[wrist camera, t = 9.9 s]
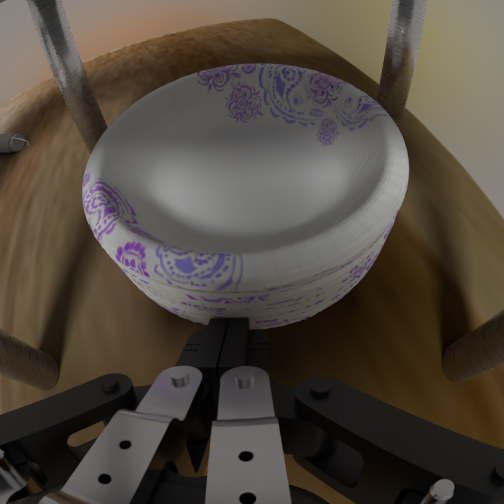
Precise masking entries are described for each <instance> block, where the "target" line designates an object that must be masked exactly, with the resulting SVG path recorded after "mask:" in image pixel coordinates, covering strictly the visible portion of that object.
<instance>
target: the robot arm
mask: <svg viewBox="0 0 504 504" xmlns="http://www.w3.org/2000/svg"><path fill="white" fill-rule="evenodd" d="M100 421H103V423H104V425H105V429H104V430H103V432H102V433H101V435H100V436H99V437H97V438H95V439H93V440H91V441H88V442H86V443H84V444H82V445H80V446H77V447H72V446H69V445H68V444H67V440H68V438H69V436H70V435H71V434H73V433H75V432H78V431H80V430H82V429H85V428H87V427H89V426H91V425H94V424H96V423H98V422H100ZM283 453H285V454H291V455H293V457H294V460H295V461H296V462H297V463H298V464H299V465H301V466H302V467H303V468H305V469H306V470H307V471H309V472H310V473H311V474H313V475H314V476H316V477H317V478H318V479H320V480H321V481H323V482H324V483H326V484H327V485H328V486H330V487H331V488H333V489H334V490H336V491H337V492H339V493H340V494H342V495H343V496H345V497H347V498H348V499H350V500H351V501H353V502H354V503H356V504H504V450H503V449H500V448H497V447H494V446H492V445H489V444H486V443H483V442H480V441H477V440H475V439H472V438H469V437H466V436H464V435H461V434H459V433H456V432H453V431H451V430H448V429H446V428H443V427H441V426H438V425H436V424H433V423H431V422H429V421H426V420H424V419H421V418H419V417H417V416H414V415H412V414H410V413H407V412H405V411H403V410H401V409H398V408H396V407H394V406H392V405H389V404H387V403H385V402H383V401H381V400H379V399H376V398H374V397H372V396H370V395H368V394H366V393H364V392H362V391H359V390H357V389H355V388H353V387H351V386H349V385H347V384H345V383H343V382H341V381H339V380H337V379H335V378H332V377H327V376H315V377H310V378H307V379H305V380H303V381H301V382H300V383H299V384H298V385H297V386H296V388H293V387H287V386H283V385H280V384H278V383H276V382H275V381H274V380H272V378H271V377H270V365H269V341H268V334H267V333H266V332H265V331H264V330H263V329H251V330H250V321H249V318H230V319H229V318H211V319H210V320H209V323H208V326H207V328H206V330H203V331H196V332H195V333H194V334H192V335H191V336H190V337H189V338H188V341H187V343H186V345H185V347H184V349H183V351H182V353H181V355H180V357H179V360H178V362H177V364H176V366H175V367H171V368H168V369H166V370H164V371H163V372H161V373H160V374H159V376H158V377H157V379H156V380H155V382H154V383H153V385H147V386H138V387H133V384H132V381H131V379H130V378H129V377H128V376H126V375H123V374H107V375H104V376H101V377H99V378H96V379H94V380H91V381H89V382H86V383H84V384H81V385H79V386H76V387H74V388H71V389H69V390H66V391H64V392H61V393H59V394H56V395H54V396H51V397H48V398H46V399H43V400H40V401H38V402H35V403H32V404H30V405H27V406H24V407H21V408H19V409H16V410H13V411H10V412H7V413H4V414H2V415H0V504H329V503H328V502H327V501H325V500H324V499H322V498H321V497H319V496H317V495H316V494H314V493H312V492H309V491H307V490H305V489H302V488H299V487H296V486H293V485H288V479H287V473H286V467H285V461H284V455H283ZM208 458H209V463H208V475H207V476H203V474H204V471H205V468H206V464H207V461H208Z"/></svg>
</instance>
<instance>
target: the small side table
mask: <svg viewBox="0 0 504 504" xmlns="http://www.w3.org/2000/svg"><path fill="white" fill-rule="evenodd" d="M3 1H5V0H0V3H1V2H3ZM26 1H27V4H28V7H29V10H30V13H31V17H32V20H33V23H34V25H35V28H36V31H37V34H38V36H39V39H40V42H41V45H42V47H43V50H44V52H45V55H46V58H47V60H48V63H49V65H50V68H51V70H52V73H53V75H54V77H55V80H56V82H57V84H58V87H59V89H60V91H61V94H62V96H63V98H64V100H65V103H66V105H67V107H68V109H69V111H70V113H71V116H72V118H73V120H74V122H75V124H76V126H77V128H78V130H79V132H80V134H81V136H82V138H83V140H84V142H85V144H86V146H87V148H88V150H89V152H90V154H91V153H92V151H93V149H94V147H95V145H96V144H97V142H98V140H99V139H100V137H101V136H102V134H103V133H104V132H105V130H106V129H107V128H108V127H107V124H106V122H105V120H104V117H103V115H102V113H101V110H100V108H99V105H98V103H97V100H96V98H95V95H94V93H93V90H92V88H91V85H90V83H89V80H88V77H87V75H86V72H85V69H84V67H83V64H82V61H81V58H80V56H79V53H78V50H77V47H76V45H75V41H74V39H73V35H72V33H71V30H70V27H69V23H68V20H67V17H66V14H65V11H64V7H63V4H62V0H26ZM426 1H427V0H392V2H391V13H390V20H389V28H388V35H387V42H386V49H385V56H384V62H383V68H382V74H381V80H380V85H379V90H378V96H377V101H376V102H377V103H378V104H379V105H380V106H381V107H382V108H383V109H384V110H385V111H386V112H387V113H388V114H389V116H390V117H391V118H392V119H393V121H394V122H395V123H396V125H397V127H398V129H399V128H400V124H401V120H402V117H403V113H404V109H405V105H406V101H407V97H408V94H409V90H410V85H411V81H412V77H413V72H414V68H415V63H416V59H417V54H418V49H419V44H420V38H421V33H422V26H423V21H424V15H425V7H426ZM502 365H504V309H503V310H502V311H500V312H499V313H498V314H496V315H495V316H494V317H492V318H491V319H489V320H488V321H486V322H485V323H484V324H482V325H481V326H479V327H478V328H476V329H475V330H473V331H472V332H470V333H469V334H467V335H465V336H464V337H462V338H461V339H459V340H457V341H456V342H454V343H453V344H451V345H450V346H448V347H447V349H446V350H445V352H444V354H443V358H442V366H443V370H444V373H445V375H446V376H447V377H448V378H449V379H450V380H451V381H453V382H463V381H465V380H468V379H470V378H473V377H476V376H478V375H481V374H483V373H486V372H488V371H490V370H493V369H495V368H497V367H500V366H502ZM0 375H1V376H4V377H7V378H9V379H12V380H15V381H17V382H20V383H23V384H26V385H29V386H32V387H35V388H38V389H41V390H44V391H47V390H50V389H52V388H53V387H54V386H55V384H56V383H57V380H58V376H59V369H58V364H57V362H56V360H55V359H54V358H53V357H52V356H50V355H48V354H46V353H44V352H42V351H40V350H38V349H36V348H34V347H32V346H30V345H28V344H26V343H25V342H23V341H21V340H19V339H17V338H15V337H14V336H12V335H10V334H8V333H7V332H5V331H3V330H1V329H0Z"/></svg>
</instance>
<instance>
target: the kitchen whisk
mask: <svg viewBox="0 0 504 504" xmlns="http://www.w3.org/2000/svg"><path fill="white" fill-rule="evenodd" d="M25 141H26V140H25V138H24V136H23V135H22V134H19V133H8V134H0V153H10V152H16V151H20V150H21V149H22V148H23V147H24V145H25ZM26 142H28V141H26ZM28 143H29V142H28ZM29 145H30V143H29ZM29 145H27V146H29Z"/></svg>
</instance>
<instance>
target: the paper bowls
mask: <svg viewBox="0 0 504 504" xmlns="http://www.w3.org/2000/svg"><path fill="white" fill-rule="evenodd" d="M408 179H409V161H408V153H407V149H406V146H405V142H404V139H403V137H402V134H401V133H400V131H399V129H398V127H397V125H396V123H395V122H394V121H393V119H392V118H391V117H390V116H389V114H388V113H387V112H386V111H385V110H384V109H383V108H382V107H381V106H380V105H379V104H378V103H377V102H376V101H375V100H374V99H372V98H371V97H370V96H368V95H367V94H366V93H364V92H363V91H361V90H360V89H358V88H356V87H355V86H353V85H351V84H349V83H347V82H345V81H343V80H341V79H338V78H336V77H333V76H331V75H328V74H324V73H321V72H318V71H315V70H311V69H307V68H301V67H296V66H289V65H282V64H263V63H257V64H239V65H229V66H223V67H218V68H212V69H208V70H204V71H200V72H197V73H193V74H190V75H187V76H184V77H182V78H179V79H177V80H175V81H173V82H170V83H168V84H166V85H163V86H161V87H160V88H158V89H156V90H154V91H152V92H150V93H149V94H147V95H145V96H144V97H142V98H141V99H139V100H138V101H136V102H135V103H134V104H132V105H131V106H130V107H129V108H127V109H126V110H125V111H124V112H123V113H122V114H120V115H119V116H118V117H117V118H116V119H115V120H114V121H113V122H112V123H111V124H110V126H109V127H108V128H107V129H106V130H105V132H104V133H103V134H102V136H101V137H100V139H99V140H98V142H97V144H96V145H95V147H94V149H93V151H92V153H91V155H90V157H89V159H88V163H87V166H86V169H85V174H84V176H83V185H82V191H83V195H82V197H83V206H84V211H85V215H86V218H87V221H88V223H89V225H90V227H91V229H92V231H93V233H94V236H95V237H96V239H97V240H98V241H99V243H100V244H101V246H102V248H104V249H105V250H106V252H107V253H108V255H109V256H110V257H111V258H112V259H113V260H114V261H115V262H116V263H117V264H118V265H119V267H120V268H121V269H122V270H123V271H124V272H125V273H126V275H127V276H128V277H129V278H130V279H131V280H132V281H133V283H134V284H135V285H136V286H137V287H138V288H139V289H141V290H142V291H143V292H144V293H145V294H146V295H147V296H148V297H149V298H151V299H152V300H154V301H155V302H156V303H157V304H159V305H160V306H161V307H163V308H165V309H166V310H168V311H169V312H172V313H174V314H176V315H178V316H180V317H182V318H184V319H189V320H191V321H192V322H200V323H202V324H204V325H208V323H209V320H210V319H211V318H229V319H230V318H249V321H250V330H251V329H267V328H272V327H280V326H284V325H287V324H291V323H294V322H297V321H301V320H305V319H307V317H312V316H314V315H315V314H317V313H318V312H321V311H322V310H324V309H325V308H327V307H329V306H330V305H332V304H334V303H335V302H337V301H338V300H340V299H341V298H342V297H343V296H345V295H346V294H347V293H348V292H349V291H350V290H351V289H352V288H353V287H354V286H356V285H357V284H358V283H359V281H360V280H361V279H362V278H363V277H364V276H365V275H366V273H367V272H368V270H369V269H370V268H371V266H372V265H373V263H374V261H375V260H376V258H377V256H378V255H379V253H380V251H381V249H382V246H383V244H384V242H385V240H386V238H387V236H388V234H389V232H390V230H391V228H392V226H393V224H394V221H395V217H396V215H397V212H398V210H399V209H400V207H401V204H402V202H403V200H404V197H405V194H406V190H407V186H408Z"/></svg>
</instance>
